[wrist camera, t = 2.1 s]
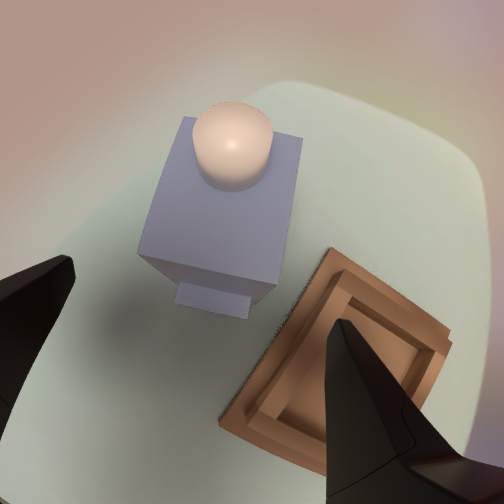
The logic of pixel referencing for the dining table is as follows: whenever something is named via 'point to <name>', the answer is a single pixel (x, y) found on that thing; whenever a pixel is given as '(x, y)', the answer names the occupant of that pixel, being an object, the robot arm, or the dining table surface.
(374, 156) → the dining table surface
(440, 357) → the wooden socket base
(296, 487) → the dining table surface
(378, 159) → the dining table surface
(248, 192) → the block
